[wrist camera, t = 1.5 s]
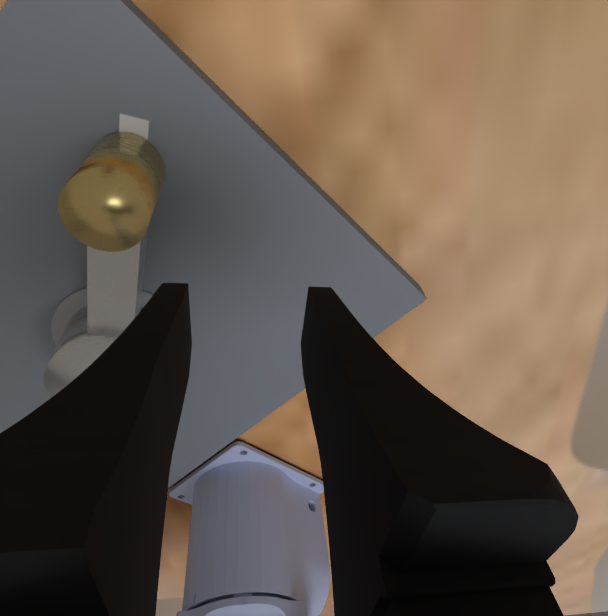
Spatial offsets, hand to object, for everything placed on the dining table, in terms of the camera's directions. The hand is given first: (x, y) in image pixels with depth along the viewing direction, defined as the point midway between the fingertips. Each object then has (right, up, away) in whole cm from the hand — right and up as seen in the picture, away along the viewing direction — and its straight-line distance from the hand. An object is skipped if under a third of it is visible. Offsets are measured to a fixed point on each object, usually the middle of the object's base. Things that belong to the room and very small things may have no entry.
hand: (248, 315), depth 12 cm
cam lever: (-7, +2, +8) cm, 10 cm away
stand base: (-8, 0, +11) cm, 14 cm away
